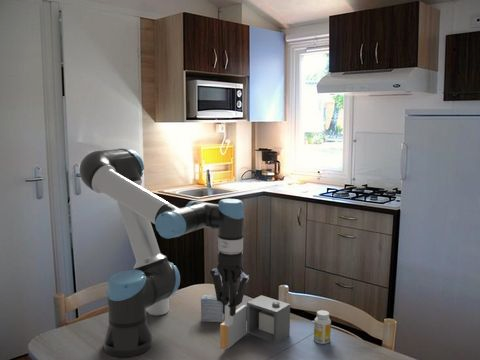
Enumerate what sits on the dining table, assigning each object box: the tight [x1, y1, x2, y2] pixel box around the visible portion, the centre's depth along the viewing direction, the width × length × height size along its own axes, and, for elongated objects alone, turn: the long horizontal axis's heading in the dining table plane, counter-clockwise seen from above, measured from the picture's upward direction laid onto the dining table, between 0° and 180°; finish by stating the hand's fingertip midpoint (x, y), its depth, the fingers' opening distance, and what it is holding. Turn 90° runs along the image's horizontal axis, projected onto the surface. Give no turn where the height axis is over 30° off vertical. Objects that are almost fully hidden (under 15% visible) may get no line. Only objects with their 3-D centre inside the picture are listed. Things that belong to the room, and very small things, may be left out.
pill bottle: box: [146, 297, 170, 316], centre depth 176 cm, size 8×8×15 cm
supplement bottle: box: [313, 309, 332, 345], centre depth 155 cm, size 5×5×10 cm
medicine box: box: [200, 294, 225, 323], centre depth 170 cm, size 8×4×9 cm, turn 84°
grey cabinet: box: [246, 295, 291, 345], centre depth 160 cm, size 14×8×12 cm, turn 52°
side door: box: [219, 304, 247, 350], centre depth 152 cm, size 15×1×10 cm, turn 150°
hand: (228, 324), depth 145 cm, fingers closed
